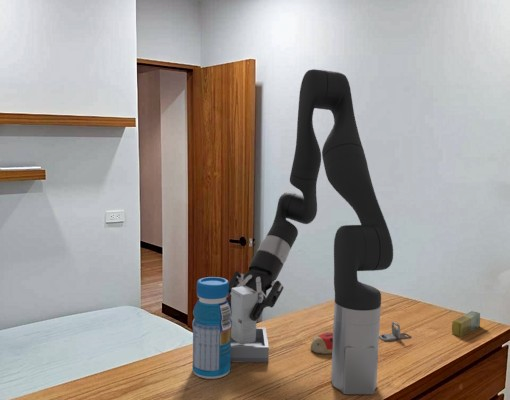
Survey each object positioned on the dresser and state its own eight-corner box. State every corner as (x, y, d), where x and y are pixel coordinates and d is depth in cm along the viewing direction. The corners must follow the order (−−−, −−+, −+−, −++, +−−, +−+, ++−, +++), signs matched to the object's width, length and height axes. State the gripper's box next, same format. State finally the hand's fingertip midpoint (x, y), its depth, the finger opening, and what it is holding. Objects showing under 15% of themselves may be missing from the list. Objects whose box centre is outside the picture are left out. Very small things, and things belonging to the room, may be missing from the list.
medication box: (470, 324, 139) (471, 310, 138) (480, 326, 137) (481, 312, 136) (451, 335, 130) (452, 320, 130) (461, 337, 129) (462, 323, 128)
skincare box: (228, 336, 118) (229, 287, 117) (245, 332, 120) (245, 285, 119) (240, 345, 113) (241, 294, 111) (257, 341, 115) (258, 291, 114)
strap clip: (384, 343, 124) (385, 327, 124) (377, 338, 127) (378, 322, 126) (412, 339, 127) (413, 323, 127) (404, 334, 130) (405, 319, 129)
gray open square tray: (268, 362, 111) (268, 347, 110) (215, 361, 110) (215, 346, 110) (265, 341, 123) (265, 327, 122) (217, 340, 122) (217, 327, 122)
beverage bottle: (195, 382, 100) (196, 287, 98) (188, 364, 108) (189, 276, 106) (235, 378, 103) (237, 285, 100) (226, 360, 111) (227, 274, 109)
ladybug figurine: (304, 348, 119) (304, 334, 119) (335, 340, 125) (335, 327, 124) (322, 358, 114) (322, 343, 113) (353, 350, 119) (354, 336, 119)
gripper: (241, 245, 124) (209, 300, 117) (288, 253, 116) (257, 314, 108) (253, 261, 129) (223, 316, 121) (299, 271, 120) (270, 330, 113)
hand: (239, 315), depth 115 cm, fingers closed on skincare box, 7 cm apart
